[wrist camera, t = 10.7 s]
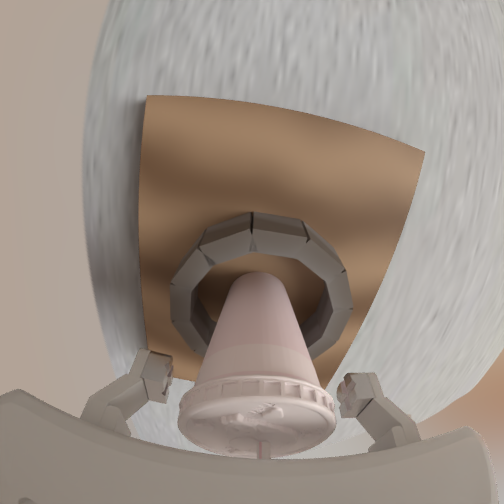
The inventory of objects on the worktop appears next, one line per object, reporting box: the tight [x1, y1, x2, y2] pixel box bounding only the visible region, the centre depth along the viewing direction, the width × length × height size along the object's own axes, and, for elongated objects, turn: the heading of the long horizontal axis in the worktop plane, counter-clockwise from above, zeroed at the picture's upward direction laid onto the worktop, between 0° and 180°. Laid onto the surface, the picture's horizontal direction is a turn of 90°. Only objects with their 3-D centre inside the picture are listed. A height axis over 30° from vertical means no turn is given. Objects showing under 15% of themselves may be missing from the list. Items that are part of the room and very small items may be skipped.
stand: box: [138, 95, 425, 390], centre depth 17 cm, size 22×16×4 cm
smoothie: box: [178, 272, 336, 459], centre depth 11 cm, size 6×6×14 cm
